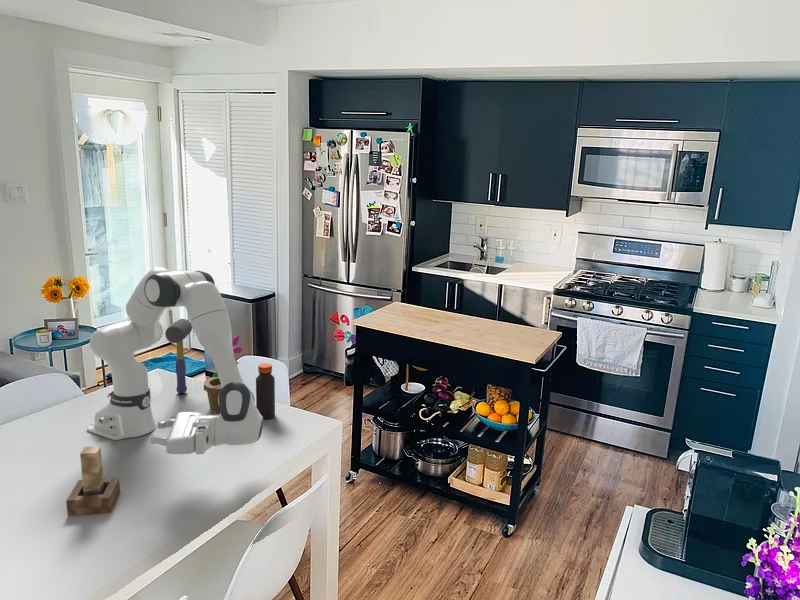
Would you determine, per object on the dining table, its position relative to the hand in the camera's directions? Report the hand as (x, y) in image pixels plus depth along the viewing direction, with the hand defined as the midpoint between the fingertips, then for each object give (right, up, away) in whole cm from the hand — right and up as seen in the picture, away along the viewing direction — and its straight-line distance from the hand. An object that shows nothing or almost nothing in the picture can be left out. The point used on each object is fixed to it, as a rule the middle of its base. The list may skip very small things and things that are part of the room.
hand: (154, 432), depth 171 cm
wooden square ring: (-14, -18, -6) cm, 24 cm away
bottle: (+20, -6, +54) cm, 58 cm away
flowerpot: (+2, -4, +61) cm, 61 cm away
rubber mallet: (-19, 0, +72) cm, 75 cm away
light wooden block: (-14, -18, -6) cm, 24 cm away
